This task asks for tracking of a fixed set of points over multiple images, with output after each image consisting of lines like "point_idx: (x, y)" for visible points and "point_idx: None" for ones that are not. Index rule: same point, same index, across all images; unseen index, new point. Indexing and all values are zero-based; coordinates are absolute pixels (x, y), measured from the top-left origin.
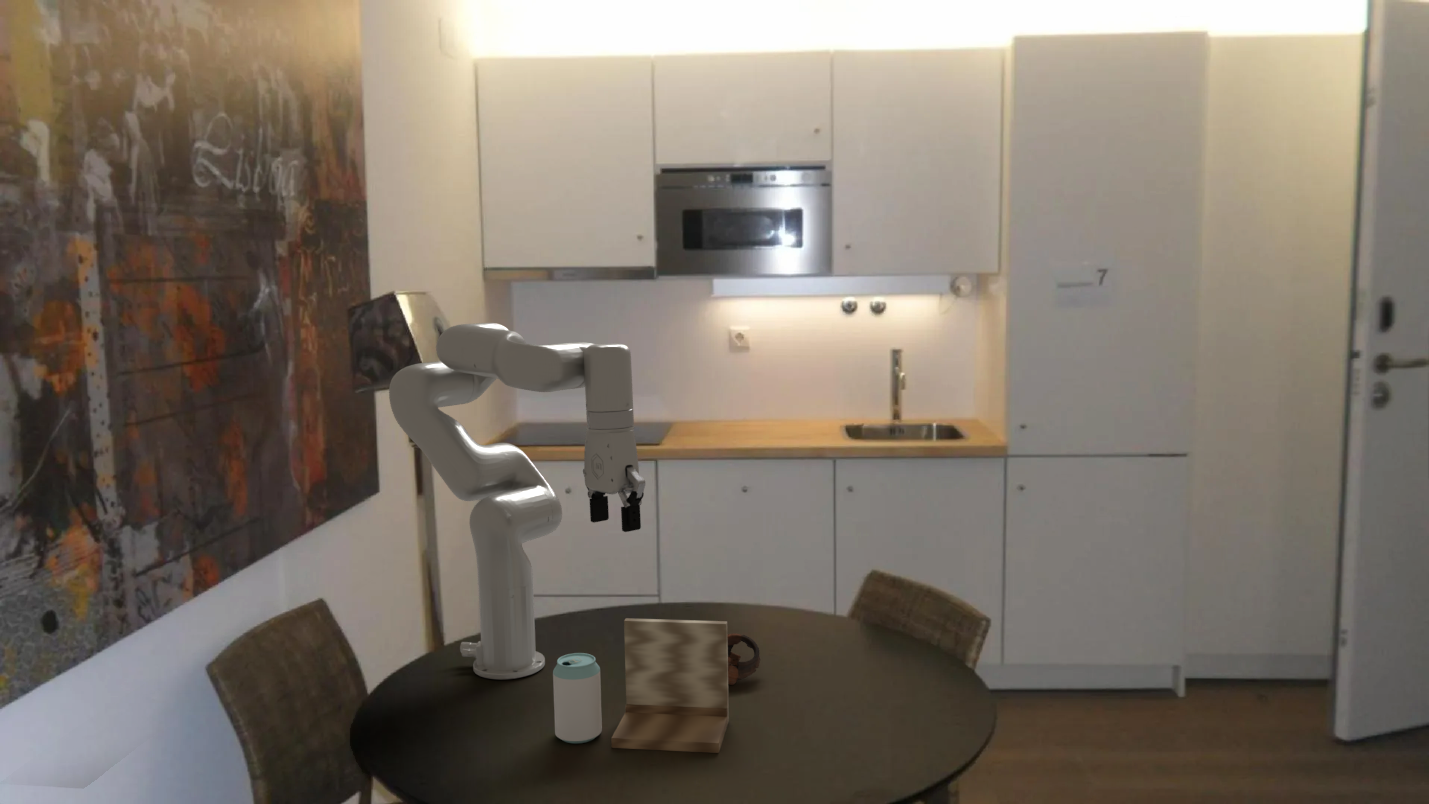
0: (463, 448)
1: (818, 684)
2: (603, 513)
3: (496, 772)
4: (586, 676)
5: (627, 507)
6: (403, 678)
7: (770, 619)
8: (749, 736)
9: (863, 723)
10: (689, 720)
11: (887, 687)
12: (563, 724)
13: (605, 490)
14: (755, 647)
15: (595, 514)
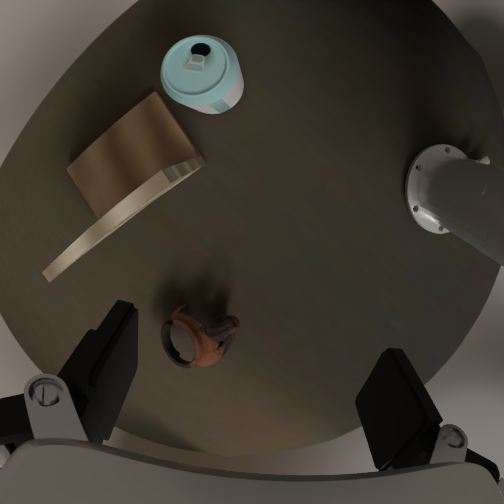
0: None
1: None
2: (370, 404)
3: None
4: (162, 62)
5: (68, 389)
6: (494, 103)
7: (277, 434)
8: (77, 216)
9: (46, 299)
10: (121, 187)
11: None
12: (205, 55)
13: (171, 481)
14: (171, 357)
15: (390, 378)
